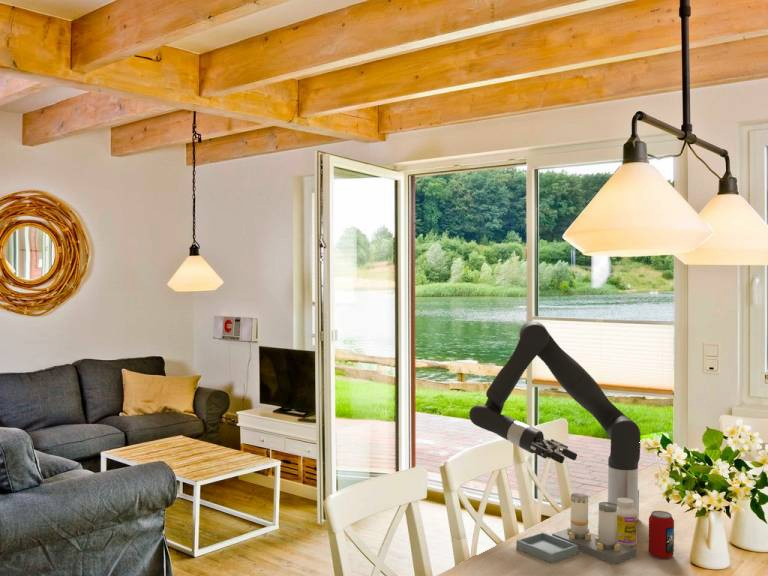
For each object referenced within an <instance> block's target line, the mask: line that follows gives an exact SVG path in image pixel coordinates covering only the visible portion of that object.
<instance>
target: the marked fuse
mask: <svg viewBox="0 0 768 576" xmlns="http://www.w3.org/2000/svg"><path fill="white" fill-rule="evenodd" d="M569 521H570V522H569V523H570V527H571V529H570V532H571V533H574V534H575V538H576V539H585V534H588V529H589V496H588V494H585V493H579V492H578V493H576V492H575V493H572V494H571V495H570V519H569Z"/></svg>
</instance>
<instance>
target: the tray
mask: <svg viewBox="0 0 768 576" xmlns="http://www.w3.org/2000/svg"><path fill="white" fill-rule="evenodd" d="M516 548H517V550H519V549H520V550H519V551H521V550H522V551H521V552H523V551H525V552H524V553H526V552H527V553H526V554H528V553H529V554H528V555H531V556H533V557H535V558H539V559H541V560H542V561H545V562H548V563H549V564H554V563H558V562H560V561H563V560H565V559H569V558H572V557H575V556H577V555H579V550H578V545H575V544H573V543H570V542H568V541H565V540H562V539H560V538H557V537H554V536H552V534H549V533H546V532H544V531H542V532H539V533H538V532H537V533H535V534H531V535H528V536H525V537H521V538H519V539H516ZM516 548H515V549H516Z"/></svg>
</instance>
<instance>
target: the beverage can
mask: <svg viewBox="0 0 768 576" xmlns="http://www.w3.org/2000/svg"><path fill="white" fill-rule="evenodd" d="M647 543H648V544H647V545H648V553H649V554H650V555H651V556H652V557H653V558H656V559H660V560H669V559H670V558H672V557H674V554H675V553H674V551H675V550H674V548H675V519H674V517H673V516H672V513H670V512H668V511H664V510H652V511H651V513H650V515H649V517H648V542H647Z"/></svg>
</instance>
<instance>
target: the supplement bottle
mask: <svg viewBox="0 0 768 576" xmlns="http://www.w3.org/2000/svg"><path fill="white" fill-rule="evenodd" d="M617 504H618V506H617V539H618V543H621V544H624V545H626V546H629V547H632V546H635V545H636V544H637V534H638V533H637V531H638V530H637V525H638V523H637V522H638V519H637V512H636V510H635V509H634V508H633V505H634V501H633V500H632V499H629V498H618V499H617Z"/></svg>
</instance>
